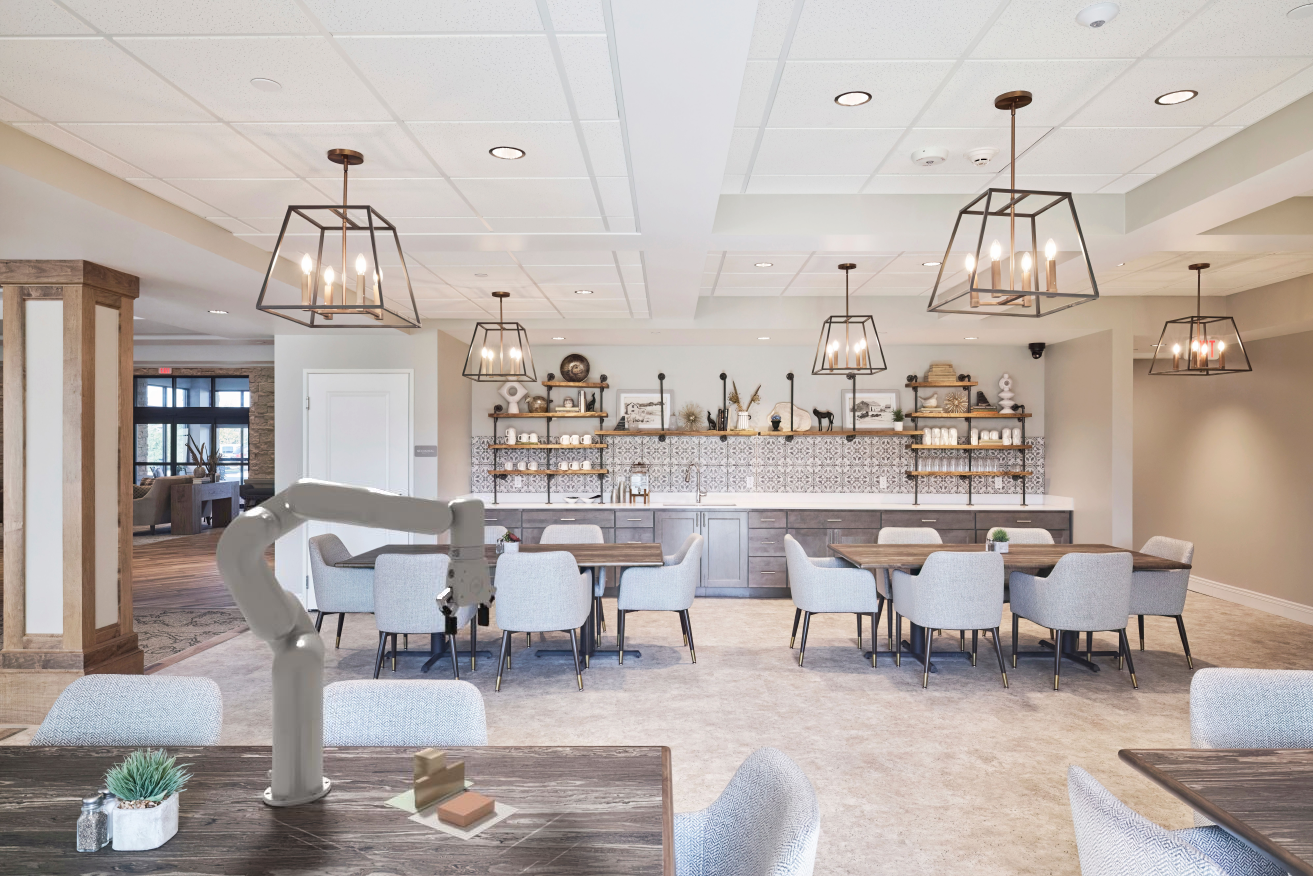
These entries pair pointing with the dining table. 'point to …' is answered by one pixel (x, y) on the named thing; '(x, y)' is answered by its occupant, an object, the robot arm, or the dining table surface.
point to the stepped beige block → (435, 776)
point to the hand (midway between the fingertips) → (467, 629)
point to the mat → (466, 832)
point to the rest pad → (408, 799)
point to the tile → (466, 808)
